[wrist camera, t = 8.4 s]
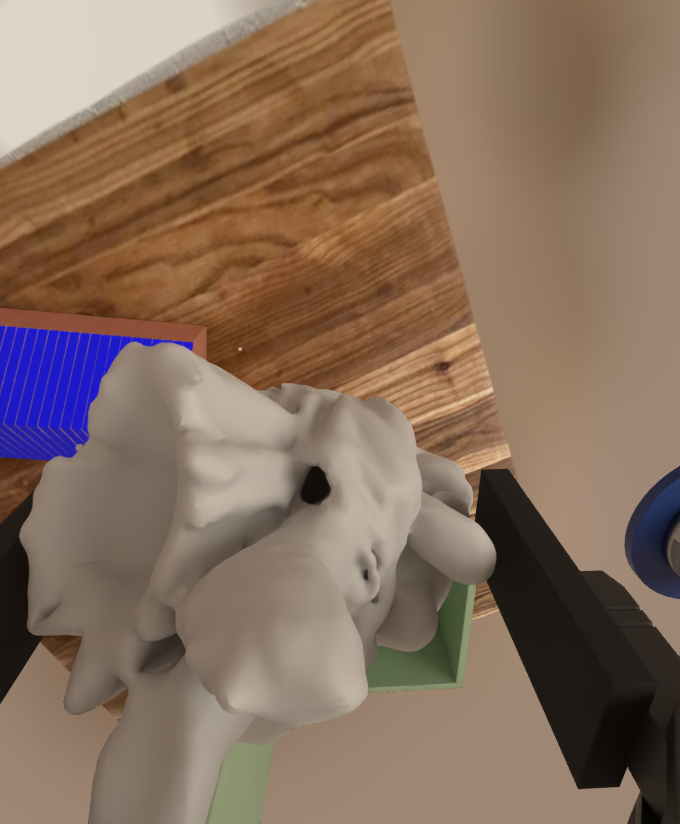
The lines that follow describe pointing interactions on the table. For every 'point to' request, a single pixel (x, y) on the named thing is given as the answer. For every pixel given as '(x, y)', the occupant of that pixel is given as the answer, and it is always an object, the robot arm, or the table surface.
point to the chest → (430, 651)
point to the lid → (241, 785)
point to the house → (65, 373)
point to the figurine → (234, 566)
